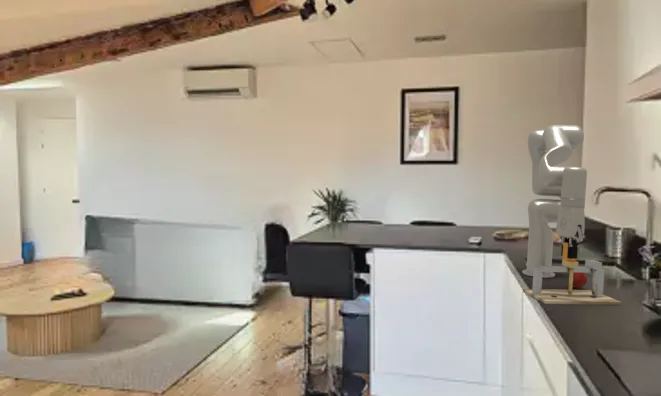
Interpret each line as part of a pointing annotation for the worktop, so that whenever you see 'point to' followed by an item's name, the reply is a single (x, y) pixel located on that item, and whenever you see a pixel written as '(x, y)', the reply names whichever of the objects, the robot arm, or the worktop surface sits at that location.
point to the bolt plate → (571, 297)
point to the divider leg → (569, 265)
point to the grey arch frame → (590, 267)
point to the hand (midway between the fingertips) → (568, 256)
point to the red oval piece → (579, 279)
